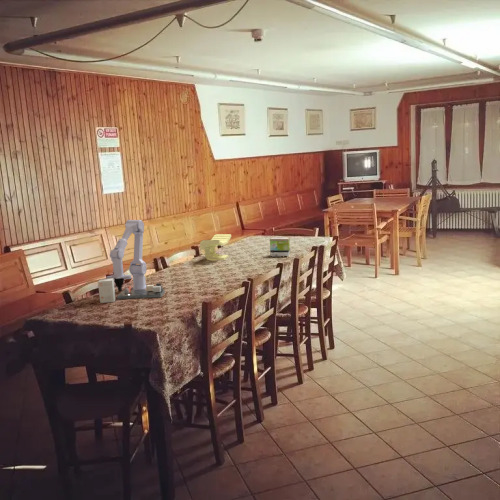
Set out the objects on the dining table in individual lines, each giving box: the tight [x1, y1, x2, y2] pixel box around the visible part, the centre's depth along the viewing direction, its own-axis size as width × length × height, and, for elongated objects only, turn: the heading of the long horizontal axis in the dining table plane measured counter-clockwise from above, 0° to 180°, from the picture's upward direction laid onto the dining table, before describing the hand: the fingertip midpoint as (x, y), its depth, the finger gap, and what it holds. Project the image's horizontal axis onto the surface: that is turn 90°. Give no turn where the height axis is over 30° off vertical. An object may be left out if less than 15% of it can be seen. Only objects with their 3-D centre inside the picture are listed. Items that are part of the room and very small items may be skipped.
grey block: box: [153, 285, 162, 292], centre depth 321 cm, size 3×4×3 cm
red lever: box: [123, 285, 132, 295], centre depth 321 cm, size 9×2×3 cm, turn 179°
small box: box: [97, 278, 117, 304], centre depth 312 cm, size 8×6×13 cm
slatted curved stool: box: [199, 233, 232, 261], centre depth 429 cm, size 30×16×18 cm, turn 164°
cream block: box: [145, 284, 155, 291], centre depth 325 cm, size 3×4×3 cm
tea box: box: [269, 236, 291, 257], centre depth 431 cm, size 15×10×15 cm, turn 81°
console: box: [116, 285, 166, 300], centre depth 322 cm, size 14×26×4 cm, turn 89°
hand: (120, 290), depth 323 cm, fingers closed
